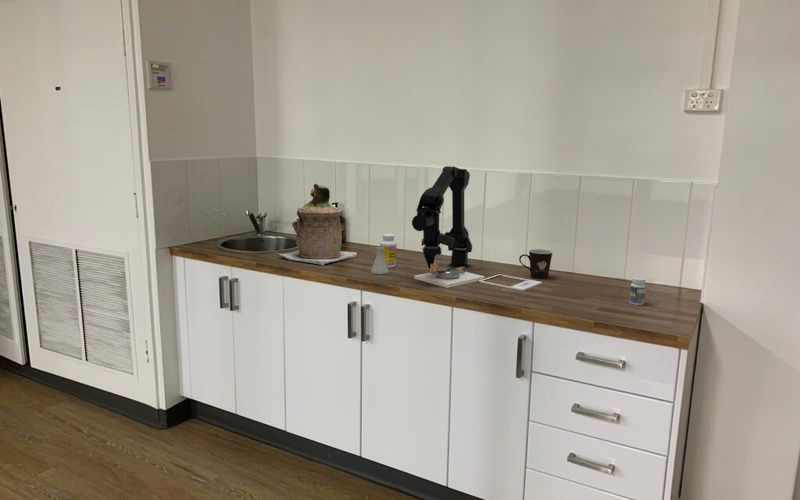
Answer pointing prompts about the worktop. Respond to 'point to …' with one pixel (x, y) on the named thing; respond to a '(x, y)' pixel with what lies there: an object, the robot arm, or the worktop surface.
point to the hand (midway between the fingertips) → (430, 268)
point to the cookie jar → (318, 231)
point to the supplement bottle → (389, 250)
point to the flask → (380, 263)
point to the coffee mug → (538, 263)
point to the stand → (463, 279)
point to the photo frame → (520, 286)
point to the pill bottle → (637, 291)
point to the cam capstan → (445, 271)
